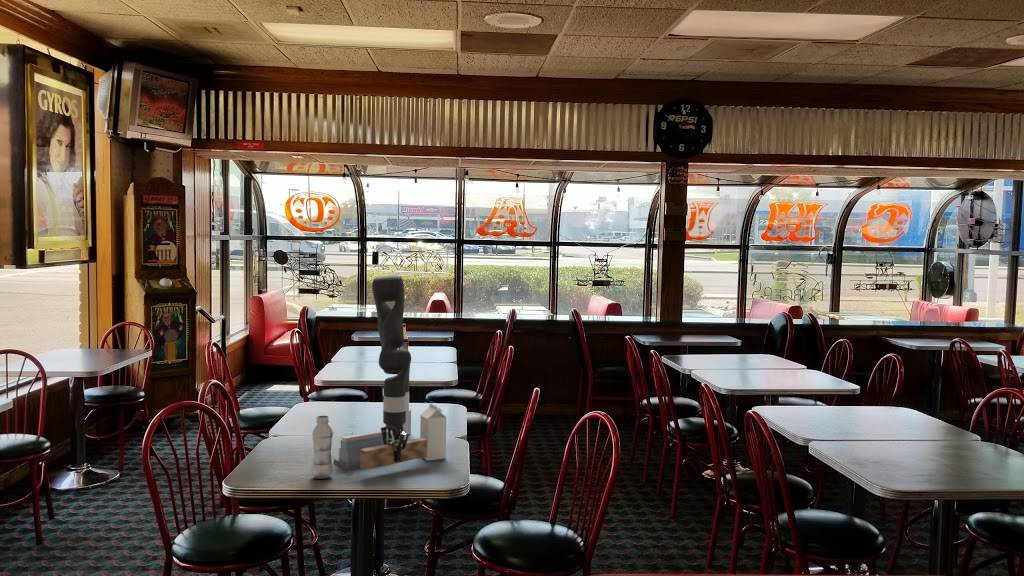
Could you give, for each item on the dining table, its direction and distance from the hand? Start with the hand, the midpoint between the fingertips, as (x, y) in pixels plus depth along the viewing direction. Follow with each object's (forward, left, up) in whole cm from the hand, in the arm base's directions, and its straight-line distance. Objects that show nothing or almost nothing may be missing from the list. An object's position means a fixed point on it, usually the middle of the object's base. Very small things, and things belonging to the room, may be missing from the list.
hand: (394, 459), depth 260 cm
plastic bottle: (+22, -8, -4) cm, 24 cm away
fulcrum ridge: (0, -16, -4) cm, 16 cm away
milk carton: (-20, -6, -4) cm, 21 cm away
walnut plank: (0, 0, -1) cm, 1 cm away
